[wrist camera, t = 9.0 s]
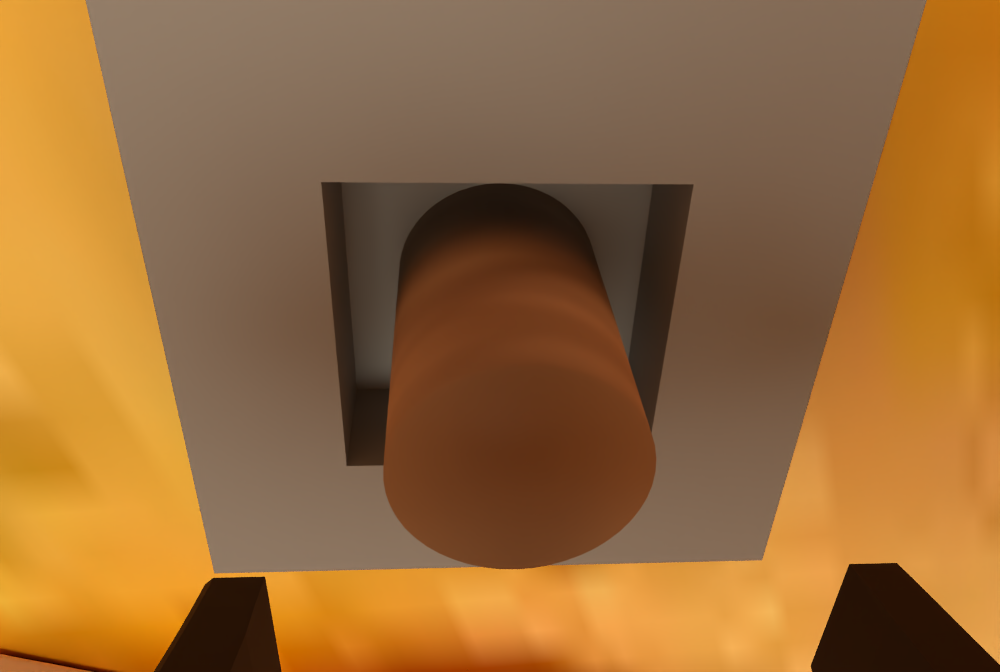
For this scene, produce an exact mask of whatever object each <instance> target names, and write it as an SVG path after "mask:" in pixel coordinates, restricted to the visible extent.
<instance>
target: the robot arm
mask: <svg viewBox="0 0 1000 672" xmlns="http://www.w3.org/2000/svg"><path fill="white" fill-rule="evenodd" d="M811 669H812V672H1000V665H999V664H998V663H997V662H996V661H995V660H994V659H993V658H992V657H991V656H990V655H989V654H988V653H987V652H986V651H985V650H984V649H983V648H982V647H981V646H980V645H979V644H978V643H977V642H976V641H975V640H974V639H973V638H972V637H971V636H970V635H969V634H968V633H967V632H966V631H965V630H964V629H963V628H962V627H961V626H960V625H959V624H958V623H957V622H956V621H955V620H954V619H953V618H952V617H951V616H950V615H949V614H948V613H947V612H946V611H945V610H944V609H943V608H942V607H941V606H940V605H939V604H938V603H937V602H936V601H935V600H934V599H933V598H932V597H931V596H930V595H929V594H928V593H927V592H926V591H925V590H924V589H923V588H922V587H921V586H920V585H919V584H918V583H917V582H916V581H915V580H914V579H913V578H912V577H911V576H910V575H908V574H907V573H906V572H905V571H904V570H903V569H902V568H901V567H900V566H899V565H898V564H897V563H881V564H849V567H848V569H847V572H846V575H845V577H844V580H843V583H842V585H841V588H840V590H839V593H838V596H837V598H836V601H835V604H834V606H833V609H832V612H831V614H830V617H829V619H828V622H827V625H826V627H825V630H824V633H823V635H822V638H821V640H820V643H819V646H818V648H817V651H816V654H815V656H814V659H813V661H812V664H811ZM154 672H281V666H280V661H279V655H278V649H277V643H276V638H275V632H274V626H273V620H272V615H271V609H270V603H269V597H268V592H267V586H266V580H265V577H236V578H213V579H211V580H210V581H209V582H208V583H206V584H205V586H204V587H203V589H202V591H201V593H200V595H199V596H198V598H197V600H196V602H195V604H194V606H193V607H192V609H191V611H190V613H189V614H188V616H187V618H186V619H185V621H184V623H183V625H182V626H181V628H180V630H179V631H178V633H177V635H176V637H175V638H174V640H173V642H172V643H171V645H170V646H169V648H168V650H167V651H166V653H165V655H164V656H163V658H162V660H161V661H160V663H159V664H158V666H157V667H156V669H155V671H154Z"/></svg>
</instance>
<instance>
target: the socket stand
mask: <svg viewBox="0 0 1000 672" xmlns="http://www.w3.org/2000/svg"><path fill="white" fill-rule="evenodd" d="M86 4H87V8H88V13H89V17H90V22H91V26H92V31H93V35H94V39H95V44H96V48H97V53H98V57H99V62H100V66H101V71H102V75H103V79H104V84H105V88H106V93H107V97H108V102H109V106H110V111H111V115H112V119H113V124H114V128H115V133H116V137H117V142H118V146H119V151H120V155H121V160H122V164H123V168H124V173H125V177H126V182H127V186H128V191H129V195H130V200H131V204H132V208H133V213H134V217H135V222H136V226H137V231H138V235H139V240H140V244H141V248H142V253H143V257H144V262H145V266H146V271H147V275H148V280H149V284H150V289H151V293H152V297H153V302H154V306H155V311H156V315H157V320H158V324H159V329H160V333H161V337H162V342H163V346H164V351H165V355H166V360H167V364H168V369H169V373H170V377H171V382H172V386H173V391H174V395H175V400H176V404H177V409H178V413H179V418H180V422H181V426H182V431H183V435H184V440H185V444H186V449H187V453H188V458H189V462H190V466H191V471H192V475H193V480H194V484H195V489H196V493H197V498H198V502H199V507H200V511H201V515H202V520H203V524H204V529H205V533H206V538H207V542H208V547H209V551H210V555H211V560H212V564H213V569H214V573H245V572H286V571H328V570H370V569H411V568H453V567H480V566H475V565H470V564H466V563H463V562H460V561H457V560H453V559H451V558H449V557H446V556H444V555H442V554H439V553H438V552H436V551H434V550H432V549H430V548H429V547H427V546H425V545H424V544H423V543H421V542H420V541H419V540H417V539H416V538H415V537H414V536H413V535H412V534H410V533H409V532H408V531H407V530H406V529H405V528H404V526H403V525H402V524H401V522H400V521H399V520H398V519H397V517H396V516H395V514H394V512H393V510H392V508H391V507H390V504H389V501H388V499H387V496H386V493H385V487H384V481H383V466H384V453H385V441H386V428H387V416H388V403H389V391H390V378H391V366H392V353H393V341H394V328H395V316H396V303H397V291H398V278H399V265H400V259H401V253H402V250H403V247H404V244H405V241H406V239H407V237H408V235H409V233H410V231H411V230H412V228H413V227H414V225H415V224H416V223H417V221H418V220H419V219H420V218H421V217H422V216H423V215H424V214H425V212H426V211H428V210H429V209H430V208H431V207H432V206H434V205H435V204H436V203H438V202H439V201H441V200H442V199H444V198H446V197H447V196H449V195H451V194H454V193H456V192H458V191H460V190H463V189H467V188H470V187H473V186H478V185H484V184H495V183H505V184H516V185H522V186H527V187H530V188H533V189H536V190H539V191H541V192H543V193H546V194H548V195H550V196H552V197H553V198H555V199H556V200H558V201H559V202H561V203H562V204H563V205H565V206H566V207H567V208H568V209H569V210H570V211H571V212H572V213H573V214H574V215H575V216H576V217H577V218H578V220H579V221H580V223H581V224H582V226H583V227H584V229H585V231H586V233H587V235H588V237H589V239H590V242H591V245H592V248H593V252H594V255H595V258H596V261H597V264H598V267H599V270H600V273H601V277H602V280H603V283H604V286H605V289H606V292H607V295H608V299H609V302H610V305H611V308H612V311H613V314H614V317H615V320H616V324H617V327H618V330H619V333H620V336H621V339H622V342H623V346H624V349H625V352H626V355H627V358H628V361H629V364H630V367H631V371H632V374H633V377H634V380H635V383H636V386H637V389H638V393H639V396H640V399H641V402H642V405H643V408H644V411H645V414H646V418H647V421H648V424H649V427H650V430H651V433H652V437H653V440H654V444H655V450H656V472H655V476H654V480H653V485H652V487H651V490H650V492H649V494H648V497H647V499H646V500H645V502H644V504H643V505H642V507H641V509H640V510H639V511H638V513H637V514H636V515H635V516H634V518H633V519H632V520H631V521H630V522H629V523H628V524H627V525H626V526H625V527H624V528H623V529H622V530H621V531H620V532H618V533H617V534H616V535H614V536H613V537H612V538H611V539H609V540H608V541H606V542H605V543H603V544H601V545H600V546H598V547H596V548H595V549H593V550H591V551H588V552H586V553H584V554H582V555H580V556H577V557H575V558H572V559H569V560H566V561H563V562H559V563H555V564H552V565H578V564H620V563H662V562H703V561H745V560H762V558H763V555H764V552H765V548H766V545H767V541H768V538H769V535H770V531H771V528H772V524H773V521H774V517H775V514H776V511H777V507H778V504H779V500H780V497H781V494H782V490H783V487H784V483H785V480H786V477H787V473H788V470H789V466H790V463H791V460H792V456H793V453H794V449H795V446H796V443H797V439H798V436H799V432H800V429H801V426H802V422H803V419H804V415H805V412H806V409H807V405H808V402H809V398H810V395H811V392H812V388H813V385H814V381H815V378H816V375H817V371H818V368H819V364H820V361H821V358H822V354H823V351H824V347H825V344H826V341H827V337H828V334H829V330H830V327H831V324H832V320H833V317H834V313H835V310H836V307H837V303H838V300H839V296H840V293H841V290H842V286H843V283H844V279H845V276H846V273H847V269H848V266H849V262H850V259H851V256H852V252H853V249H854V245H855V242H856V239H857V235H858V232H859V228H860V225H861V221H862V218H863V215H864V211H865V208H866V204H867V201H868V198H869V194H870V191H871V187H872V184H873V181H874V177H875V174H876V170H877V167H878V164H879V160H880V157H881V153H882V150H883V147H884V143H885V140H886V136H887V133H888V130H889V126H890V123H891V119H892V116H893V113H894V109H895V106H896V102H897V99H898V96H899V92H900V89H901V85H902V82H903V79H904V75H905V72H906V68H907V65H908V62H909V58H910V55H911V51H912V48H913V45H914V41H915V38H916V34H917V31H918V28H919V24H920V21H921V17H922V14H923V11H924V7H925V4H926V0H86Z"/></svg>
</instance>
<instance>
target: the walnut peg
mask: <svg viewBox="0 0 1000 672" xmlns="http://www.w3.org/2000/svg"><path fill="white" fill-rule="evenodd" d="M655 472H656V450H655V444H654V440H653V437H652V433H651V430H650V427H649V424H648V421H647V418H646V414H645V411H644V408H643V405H642V402H641V399H640V396H639V393H638V389H637V386H636V383H635V380H634V377H633V374H632V371H631V367H630V364H629V361H628V358H627V355H626V352H625V349H624V346H623V342H622V339H621V336H620V333H619V330H618V327H617V324H616V320H615V317H614V314H613V311H612V308H611V305H610V302H609V299H608V295H607V292H606V289H605V286H604V283H603V280H602V277H601V273H600V270H599V267H598V264H597V261H596V258H595V255H594V252H593V248H592V245H591V242H590V239H589V237H588V235H587V233H586V231H585V229H584V227H583V226H582V224H581V223H580V221H579V220H578V218H577V217H576V216H575V215H574V214H573V213H572V212H571V211H570V210H569V209H568V208H567V207H566V206H565V205H563V204H562V203H561V202H559V201H558V200H556V199H555V198H553V197H552V196H550V195H548V194H546V193H543V192H541V191H539V190H536V189H533V188H530V187H527V186H522V185H516V184H505V183H495V184H484V185H478V186H473V187H470V188H467V189H463V190H460V191H458V192H456V193H454V194H451V195H449V196H447V197H446V198H444V199H442V200H441V201H439V202H438V203H436V204H435V205H434V206H432V207H431V208H430V209H429V210H428V211H426V212H425V214H424V215H423V216H422V217H421V218H420V219H419V220H418V221H417V223H416V224H415V225H414V227H413V228H412V230H411V231H410V233H409V235H408V237H407V239H406V241H405V244H404V247H403V250H402V253H401V259H400V265H399V278H398V291H397V303H396V316H395V328H394V341H393V353H392V366H391V378H390V391H389V403H388V416H387V428H386V441H385V453H384V466H383V481H384V487H385V493H386V496H387V499H388V501H389V504H390V507H391V508H392V510H393V512H394V514H395V516H396V517H397V519H398V520H399V521H400V522H401V524H402V525H403V526H404V528H405V529H406V530H407V531H408V532H409V533H410V534H412V535H413V536H414V537H415V538H416V539H417V540H419V541H420V542H421V543H423V544H424V545H425V546H427V547H429V548H430V549H432V550H434V551H436V552H438V553H439V554H442V555H444V556H446V557H449V558H451V559H453V560H457V561H460V562H463V563H466V564H470V565H475V566H480V567H486V568H496V569H525V568H535V567H541V566H547V565H552V564H555V563H559V562H563V561H566V560H569V559H572V558H575V557H577V556H580V555H582V554H584V553H586V552H588V551H591V550H593V549H595V548H596V547H598V546H600V545H601V544H603V543H605V542H606V541H608V540H609V539H611V538H612V537H613V536H614V535H616V534H617V533H618V532H620V531H621V530H622V529H623V528H624V527H625V526H626V525H627V524H628V523H629V522H630V521H631V520H632V519H633V518H634V516H635V515H636V514H637V513H638V511H639V510H640V509H641V507H642V505H643V504H644V502H645V500H646V499H647V497H648V494H649V492H650V490H651V487H652V485H653V480H654V476H655Z"/></svg>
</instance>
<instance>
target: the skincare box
mask: <svg viewBox="0 0 1000 672" xmlns="http://www.w3.org/2000/svg"><path fill="white" fill-rule="evenodd" d="M0 672H92V671H86V670H81V669H76V668H71V667H65V666H60V665H55V664H50V663H45V662H39V661H34V660H28V659H23V658H18V657H13V656H8V655H3V654H0Z"/></svg>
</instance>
